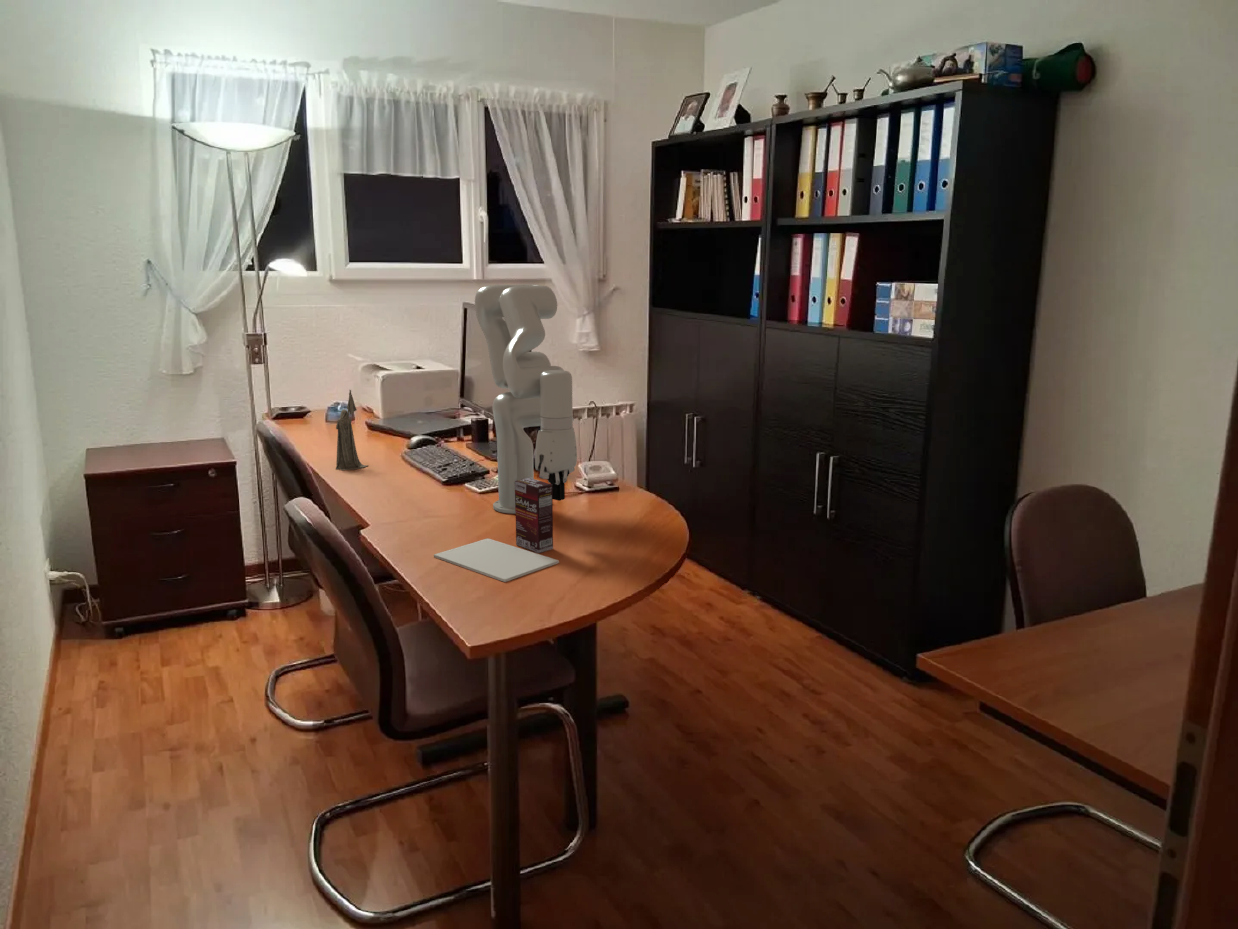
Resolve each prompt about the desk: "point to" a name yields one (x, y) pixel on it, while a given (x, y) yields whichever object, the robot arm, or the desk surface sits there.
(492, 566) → the mat
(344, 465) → the wizard figurine
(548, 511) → the supplement box
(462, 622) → the desk surface
